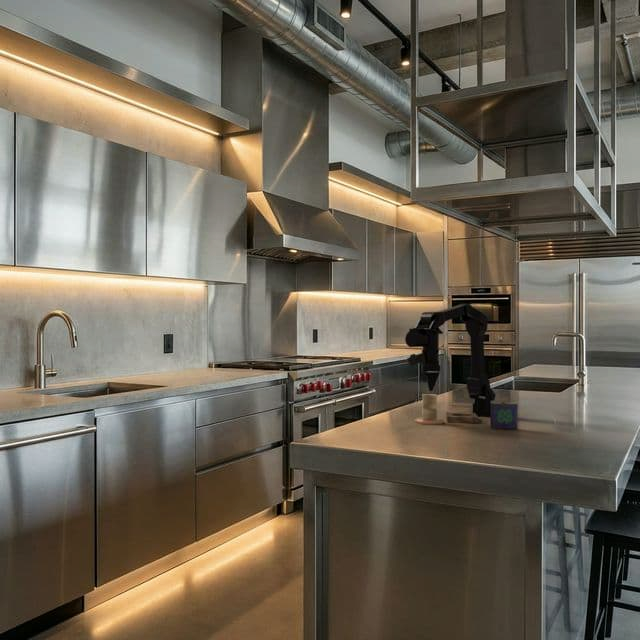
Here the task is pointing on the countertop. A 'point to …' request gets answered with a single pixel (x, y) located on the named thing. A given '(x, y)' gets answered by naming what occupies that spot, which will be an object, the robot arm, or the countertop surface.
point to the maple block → (429, 407)
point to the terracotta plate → (429, 421)
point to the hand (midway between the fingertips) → (430, 389)
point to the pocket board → (461, 417)
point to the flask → (504, 415)
